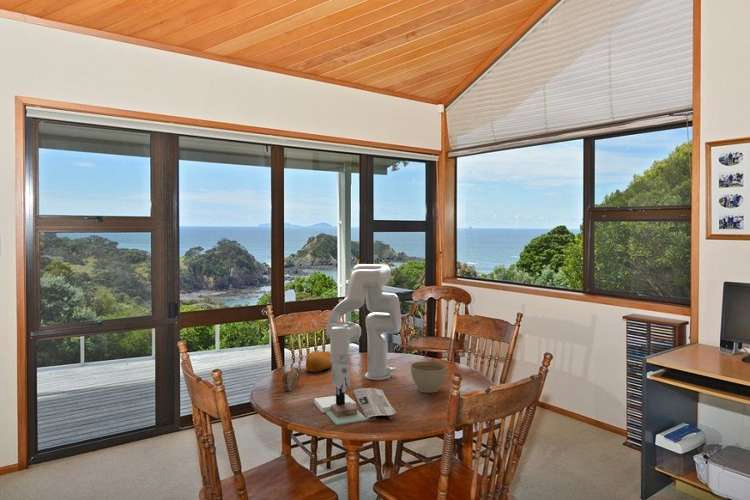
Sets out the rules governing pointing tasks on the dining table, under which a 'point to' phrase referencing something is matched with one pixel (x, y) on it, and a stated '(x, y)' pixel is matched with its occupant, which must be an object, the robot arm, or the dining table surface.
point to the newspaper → (374, 403)
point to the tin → (290, 379)
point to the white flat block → (329, 402)
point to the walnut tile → (344, 409)
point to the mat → (346, 418)
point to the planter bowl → (428, 375)
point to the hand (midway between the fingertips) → (340, 403)
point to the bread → (318, 361)
